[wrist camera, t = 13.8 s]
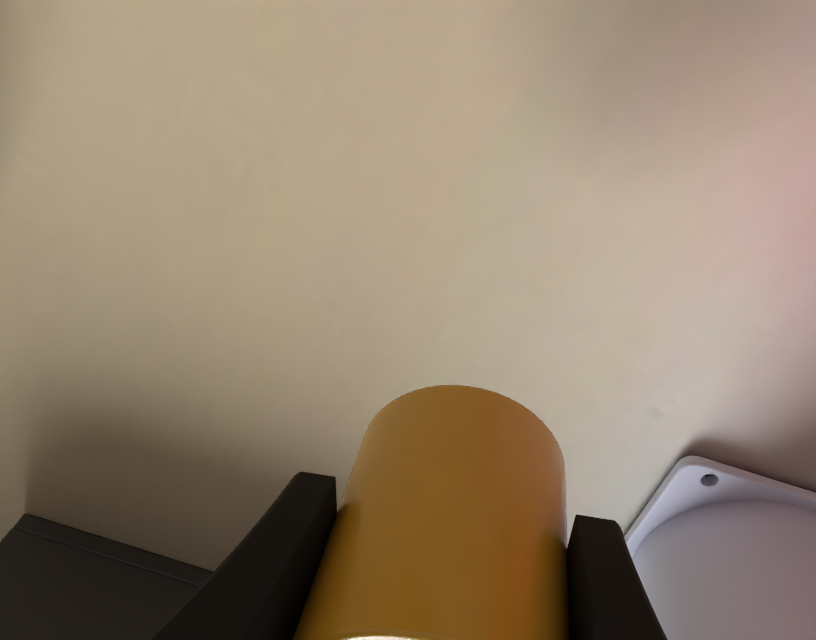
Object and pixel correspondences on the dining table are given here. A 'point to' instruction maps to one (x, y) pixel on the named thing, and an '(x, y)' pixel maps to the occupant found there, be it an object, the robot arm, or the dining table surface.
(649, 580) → the robot arm
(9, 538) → the dark drawer box
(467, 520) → the yellow cylinder
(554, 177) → the dining table surface
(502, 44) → the dining table surface
